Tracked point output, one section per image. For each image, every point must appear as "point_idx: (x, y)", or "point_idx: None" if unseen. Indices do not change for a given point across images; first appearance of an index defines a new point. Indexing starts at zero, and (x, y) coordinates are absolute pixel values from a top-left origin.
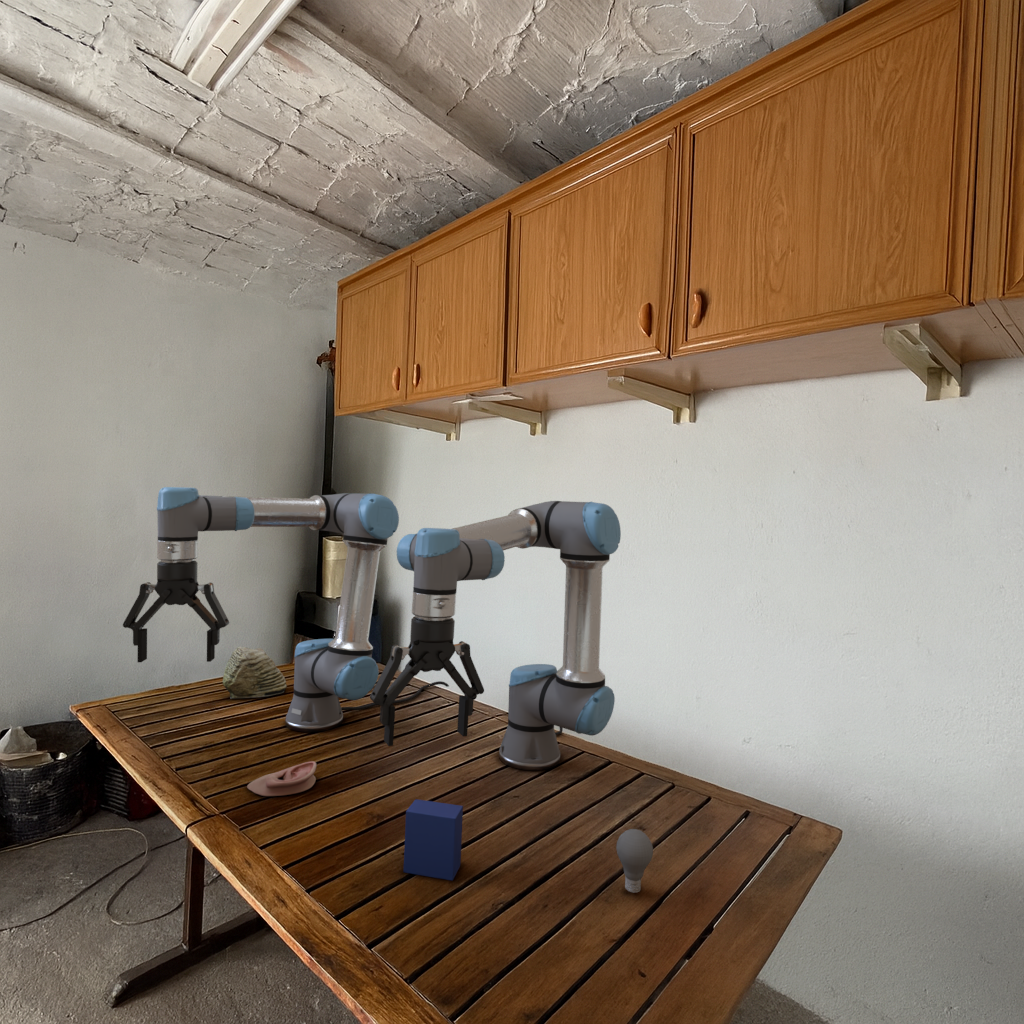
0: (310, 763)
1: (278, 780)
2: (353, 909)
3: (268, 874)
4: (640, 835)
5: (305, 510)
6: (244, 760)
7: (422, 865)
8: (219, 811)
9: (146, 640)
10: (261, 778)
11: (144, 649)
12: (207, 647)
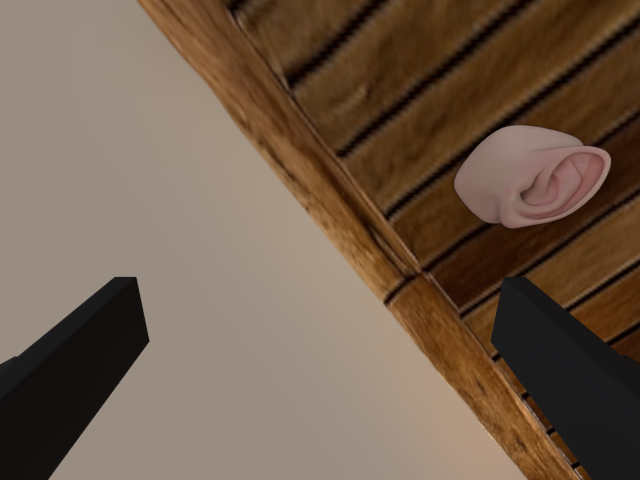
0: (596, 154)
1: (523, 210)
2: None
3: (505, 407)
4: None
5: None
6: (426, 33)
7: None
8: (420, 265)
9: (58, 360)
10: (486, 182)
11: (106, 349)
12: (541, 404)
